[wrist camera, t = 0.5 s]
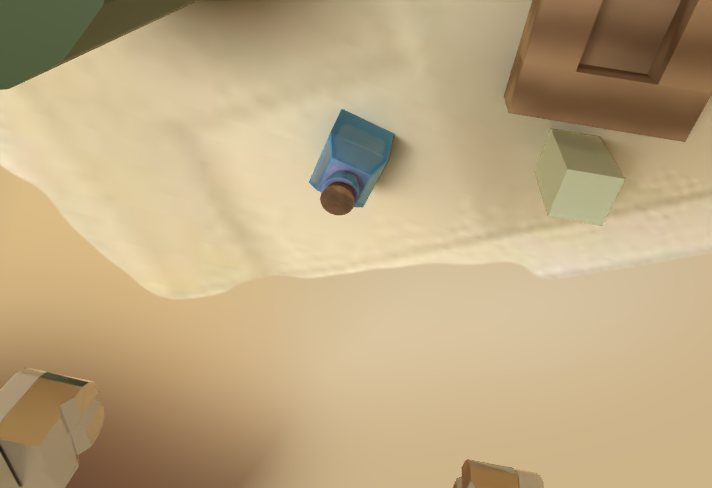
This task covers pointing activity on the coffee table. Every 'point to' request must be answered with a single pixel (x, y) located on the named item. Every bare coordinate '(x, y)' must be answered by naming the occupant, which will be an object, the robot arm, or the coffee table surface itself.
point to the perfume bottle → (350, 163)
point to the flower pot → (66, 30)
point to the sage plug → (577, 177)
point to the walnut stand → (615, 64)
